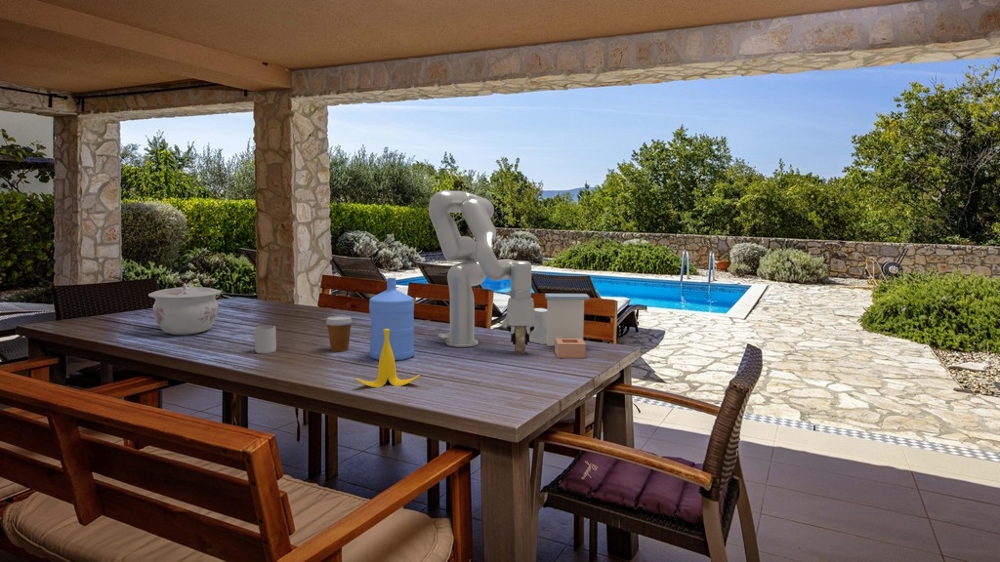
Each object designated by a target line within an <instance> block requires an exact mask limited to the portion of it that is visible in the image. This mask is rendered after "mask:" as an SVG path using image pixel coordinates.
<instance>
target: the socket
mask: <svg viewBox="0 0 1000 562" xmlns="http://www.w3.org/2000/svg"><path fill="white" fill-rule="evenodd" d="M586 349H587V344H586V342H585V340H584V338H583V339H582V338H555V346H554V353H555V355H556V358H562V359H563V358H564V359H567V358H568V359H570V358H573V359H574V358H575V359H579V358H580V359H583V358H584V359H586V356H587V355H586V353H587V350H586Z"/></svg>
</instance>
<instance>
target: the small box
mask: <svg viewBox="0 0 1000 562" xmlns="http://www.w3.org/2000/svg"><path fill="white" fill-rule="evenodd" d="M534 313H535V319H536V320H537V322H538V323H539V326H538V327H537V328H535V329H534V330H533V331H532V332H531V333H530V334H529V342H531V343H535V344H540V345H544V344H545V345H547V308H543V307H538V308H537V307H536V308H535V307H534ZM534 324H535V323H534ZM529 327H531V326H529Z"/></svg>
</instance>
